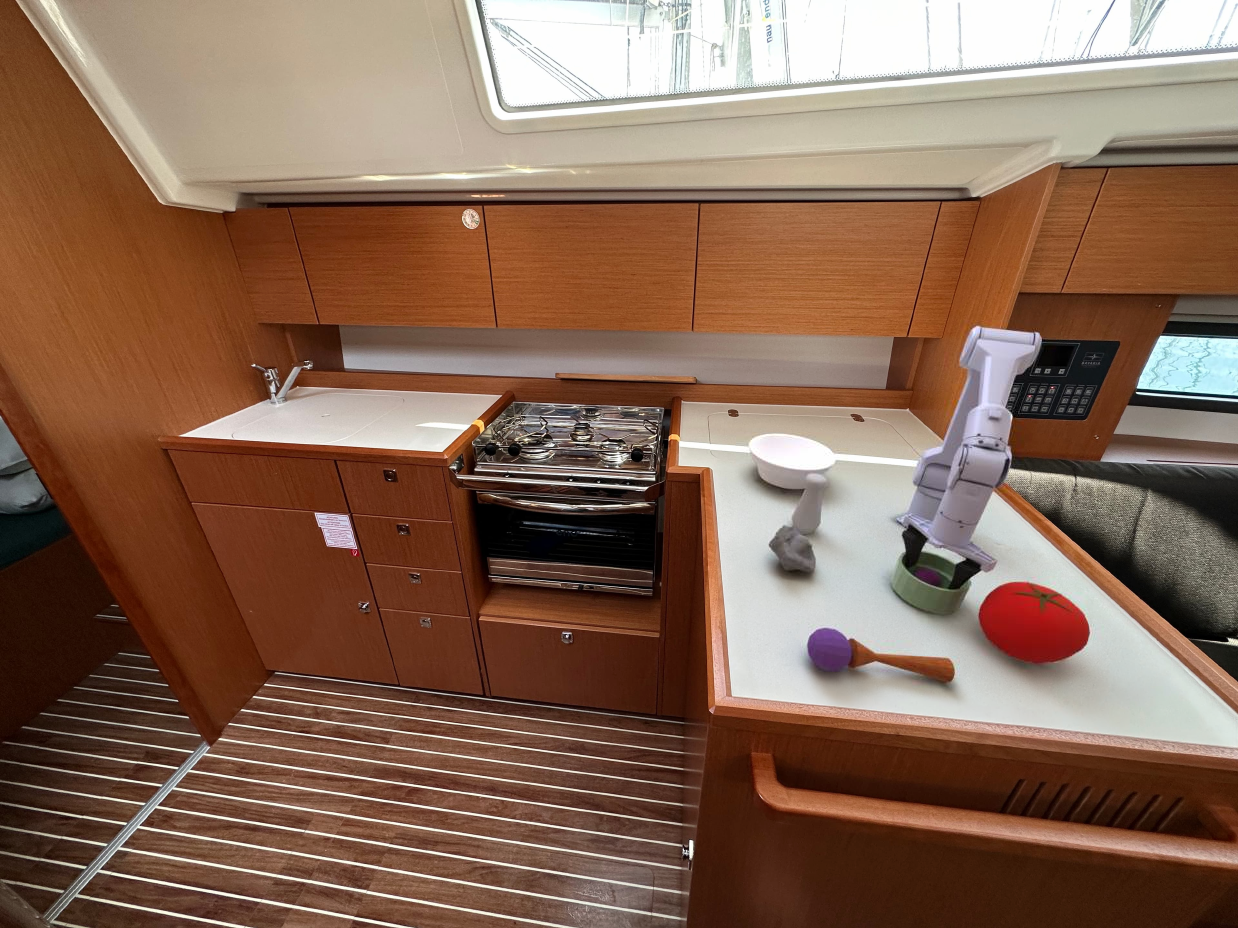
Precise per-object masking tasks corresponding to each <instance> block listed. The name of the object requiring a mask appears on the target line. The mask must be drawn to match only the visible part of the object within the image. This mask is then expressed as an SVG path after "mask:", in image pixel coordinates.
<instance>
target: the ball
mask: <svg viewBox="0 0 1238 928" xmlns="http://www.w3.org/2000/svg"><path fill="white" fill-rule="evenodd" d="M913 576H914V577H916V578H917V579H919V580H921V581H923V582H925V583H927V584H929V585H932V586H935V587H939V588H940V587H941V578H940V576H939V574H938V573H937V572H935V571H934V570H932V569H929V568H921V569H918V570H917V571H915V572H914V574H913Z"/></svg>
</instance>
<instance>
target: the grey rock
mask: <svg viewBox="0 0 1238 928" xmlns="http://www.w3.org/2000/svg"><path fill="white" fill-rule="evenodd" d="M768 547H769V548H770V550H771V551H772V552H773V553H774V554H775V556H776V557H777V558H778V559H779V562H780V563H781V566H782V567H783V569H784V570H785V571H795V570H798V571H802V572H807V573H814V572H815V569H816V561H817V558H816V556H815V553H814V550H813V544H811V542H810V540H809V538H808V537H807V536H805V535H804V534H802V533H800V532H799V531H797V530H796V529H795V528H794V527H793V526H789V525H785V524H783V525H782V526H781V527H780V528H779V529H778V530H777V531H776V532H775V535H774V536H773V538H772V539H771V540H770V541H769V543H768Z"/></svg>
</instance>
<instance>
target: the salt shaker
mask: <svg viewBox="0 0 1238 928" xmlns="http://www.w3.org/2000/svg"><path fill="white" fill-rule="evenodd" d="M804 483H805V486H806V488H804V491H803V493H802V496H801V497H800V499H799V501H798V503H797V505H796V507H795V509H794V511H793V513H792V515H791V521H792V527H794V528H795V529H796V530H797V531H799V532H800V533H801V534H802V535H811V534H812V533H814V532H815V531H816V530H817V529H818V528H819V527H820V525H821V523H822V522H821V521H822V505H823V504H822V503H823V491H824V490H825V489H826V488H827V487H828V479H827V477H826V476H824V475H820V474H813V473H812V474H809V475H807V476H806V478H805V481H804Z"/></svg>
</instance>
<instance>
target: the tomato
mask: <svg viewBox="0 0 1238 928" xmlns="http://www.w3.org/2000/svg"><path fill="white" fill-rule="evenodd" d="M978 621H979V622H978V623H979V627H980V629H981V631H982V634H983V635H984V637H985V638H986V639H987V640H988V642H990V644H992V645H993V646H994V647H996V648H997V649H998V650H999V651H1000V652H1002V653H1004V654H1005V655H1006V656H1009V657H1011V658H1014V659H1016V660H1019V661H1022V662H1026V663H1031V664H1036V665H1037V664H1039V665H1041V664H1043V665H1044V664H1048V663H1049V664H1051V663H1057V662H1060V661H1064V660H1066V659H1068V658H1070V657H1073V656H1074V655H1075V654H1078V653H1080V652H1081V651H1082V650H1083V649H1084V648H1085V647H1086V646H1087V644H1088V642H1089V638H1090V634H1091V631H1090V624H1089V621H1088V619H1087V617H1086V615H1085V613H1084V612H1083V611H1082V610H1081V608H1079V607H1078V606H1077V605H1076V604H1075V603H1073V601H1071V600H1070V599H1069V598H1067V597H1066V596H1064V595H1063V593H1061V592H1058V591H1056V590H1054V589H1051V588H1049V587H1046V586H1044V585H1040V584H1037V583H1033V582H1030V581H1009V582H1006V583H1003V584H1001V585H1000V584H999V585H998V586H997V587H994V589H992V590H991V591H990V592H989V593H988V594H987V595H986V596H985V598H984V599H983V601H982V603H981V604H980V606H979V610H978Z"/></svg>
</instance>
